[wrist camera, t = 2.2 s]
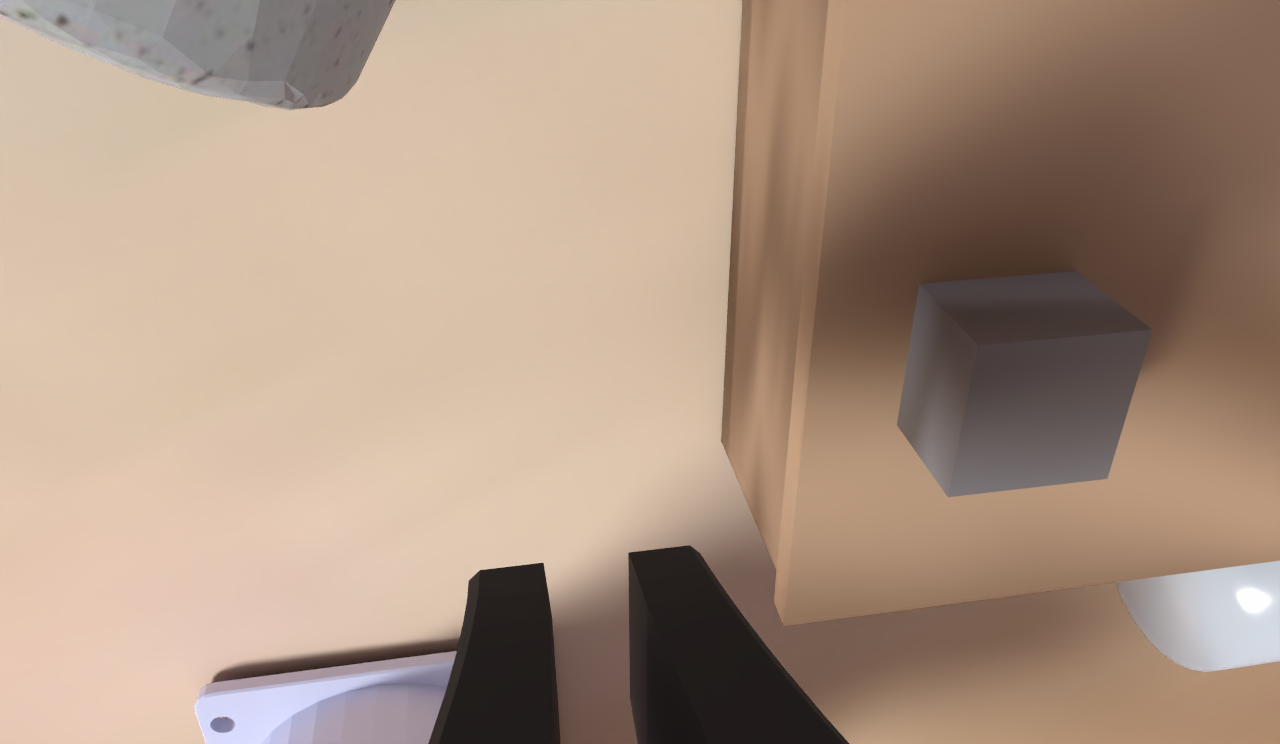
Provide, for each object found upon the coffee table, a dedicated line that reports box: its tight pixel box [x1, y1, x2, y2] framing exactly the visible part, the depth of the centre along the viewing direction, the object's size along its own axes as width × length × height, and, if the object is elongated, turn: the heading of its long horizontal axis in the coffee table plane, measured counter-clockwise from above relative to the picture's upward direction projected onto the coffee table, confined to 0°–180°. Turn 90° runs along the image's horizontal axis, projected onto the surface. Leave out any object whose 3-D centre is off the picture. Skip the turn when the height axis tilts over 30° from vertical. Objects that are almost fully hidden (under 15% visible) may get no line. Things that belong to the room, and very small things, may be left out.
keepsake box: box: [721, 0, 828, 571], centre depth 18 cm, size 10×10×4 cm
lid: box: [774, 0, 1280, 626], centre depth 14 cm, size 10×10×2 cm
